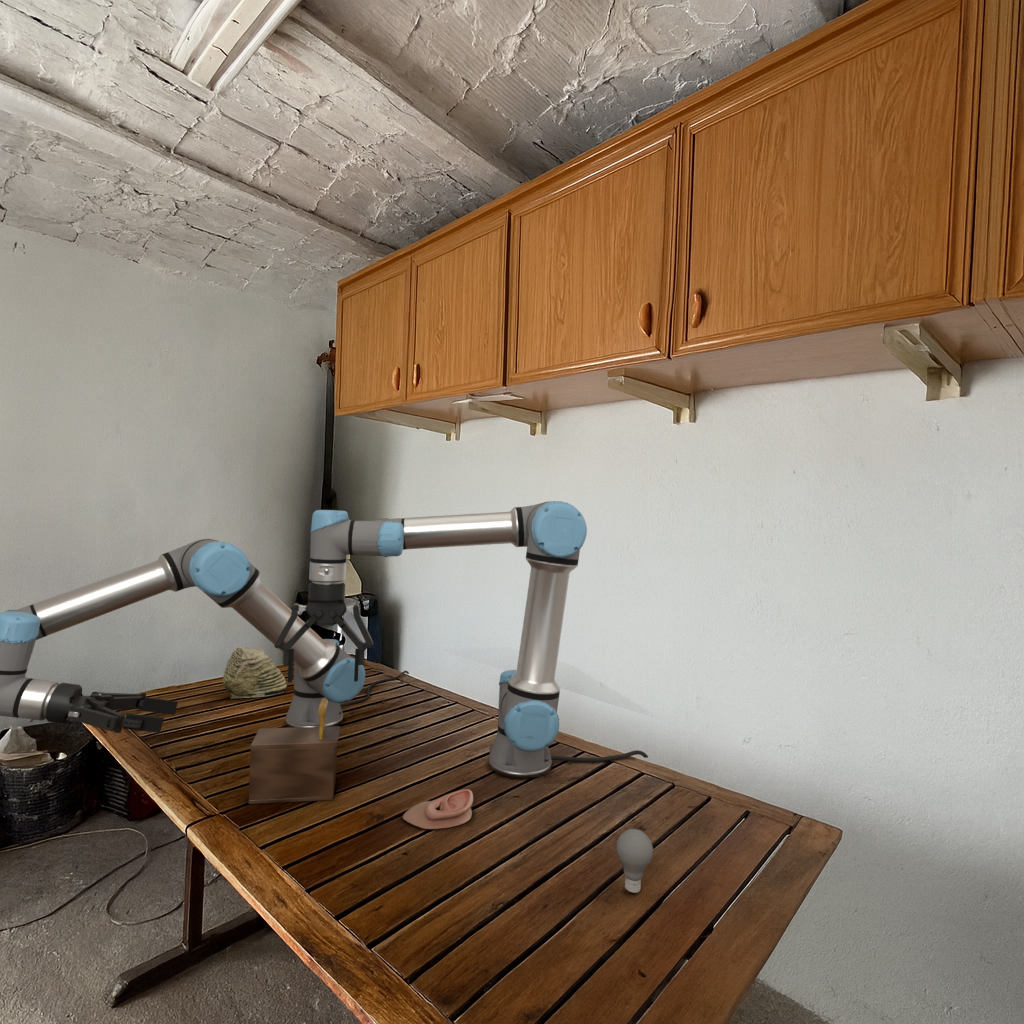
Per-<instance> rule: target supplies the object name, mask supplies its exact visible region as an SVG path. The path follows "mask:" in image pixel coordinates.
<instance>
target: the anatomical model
mask: <svg viewBox="0 0 1024 1024" xmlns="http://www.w3.org/2000/svg"><path fill="white" fill-rule="evenodd" d="M473 794H474V793H473V791H472V790H471V789H468V788H467V789H466V788H465V789H460V790H459V789H458V790H457V791H452V792H450V793H447V794H444V795H443V796H440V797H438V798H436V799H433V800H428V801H422V802H419V803H418V804H415V805H414V806H412V807H411V808H409V809H407V810H406V811H405V813H404V814H403V815H402V819H403V820H404V822H405V821H406V822H407V823H408V824H410V825H412V826H415V827H416V828H417V827H418V828H420V829H423V830H439V829H448V828H452V827H457V826H460V825H463V824H465V823H467V822H468V821H470V820H471V819H472V816H473V815H472V814H473V810H472V808H471V807H472V805H473V802H474V795H473Z"/></svg>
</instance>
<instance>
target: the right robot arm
mask: <svg viewBox="0 0 1024 1024" xmlns="http://www.w3.org/2000/svg"><path fill="white" fill-rule="evenodd" d="M587 533H588V528H587V522H586V519H585V518H584V516H583V514H582V512H581V511H580V510H578V508H576V507H575V506H574V505H573V504H571V503H568V502H566V501H563V500H561V501H560V500H553V501H552V500H551V501H544V502H540V503H536V504H531V505H527V506H514V507H512V509H511V510H510V511H501V512H500V511H499V512H482V513H465V514H450V515H448V514H447V515H433V516H415V517H412V516H411V517H402V518H401V517H399V518H378V519H376V520H356V519H355V520H353V519H350V517H349V513H348V512H347V511H346V510H338V509H337V510H336V509H316V510H315V511H313V513H312V517H311V527H310V550H309V551H310V554H309V555H310V557H309V570H308V571H309V573H308V579H309V581H311V582H309V584H308V597H307V598H308V600H307V604H300V603H298V602H295V603H294V604H293V605H292V608H291V610H292V613H291V616H290V618H289V620H288V622H287V623H286V625H285V627H284V629H283V631H282V632H281V634H280V636H279V638H278V639H277V641H276V643H275V645H274V644H273V645H274V648H275V649H279V650H280V649H282V650H283V652H282V653H283V655H282V665H283V667H288V668H287V683H288V684H289V683H290V684H291V683H292V682H293V681H294V668H295V662H294V649H290V648H291V647H292V646H293V645H294V644H295V643H296V642H297V641H298V640H299V638H300V637H301V636H302V635H303V634H304V633H305V632H306V631H307V630H308V629H309V628H311V627H312V626H313V625H316V626H318V627H323V626H328V627H333V626H335V625H337V626H338V627H339V628H340V629H341V630H342V631H343V633H344V634H345V635H346V636H347V637H348V638H349V639H350V641H351V642H352V643H353V645H354V646H355V647H356V648H355V651H354V658H355V671H354V682H358V668H359V665H363V666H364V663H365V652H366V650H367V649H372V648H373V647H374V640H373V638H372V636H371V634H370V632H369V629H368V628H367V625H366V623H365V621H364V619H363V618H362V615H361V610H360V605H359V603H354V604H350V605H347V604H346V584H345V580H346V578H347V577H346V576H347V556H367V557H368V556H369V557H384V558H390V557H400V556H401V555H402V554H403V551H404V550H420V549H421V550H422V549H436V548H454V547H457V548H458V547H472V546H490V545H504V544H505V545H507V544H512V545H513V546H514V547H515V548H526V553H525V560H526V561H527V563H528V564H529V566H530V574H529V579H528V580H529V581H528V588H527V593H526V594H527V595H526V600H525V601H526V602H525V608H524V615H523V623H522V629H521V630H522V631H521V637H520V644H519V645H520V646H519V651H518V658H517V664H516V665H517V666H516V669H508V670H504V671H502V672H501V673H500V676H499V682H498V685H499V691H498V711H497V712H498V713H497V731H496V736H495V738H494V742H493V744H492V745H490V746H489V756H488V767H489V769H491V770H492V772H494V773H496V774H498V775H500V776H503V777H505V778H506V777H507V778H511V779H522V780H523V779H524V780H525V779H536V778H540V777H542V776H545V775H546V774H548V773H549V772H550V771H551V770H552V762H553V761H559V762H578V763H597V762H599V763H600V762H608V761H615V760H620V759H626V758H629V757H632V756H636V755H638V756H639V755H640V756H642V757H643V758H645V759H648V758H649V756H648V754H647V753H646V752H644V751H642V750H638V749H637V750H631V751H628V752H625V753H621V754H614V755H607V756H599V757H579V756H577V757H576V756H559V755H551V752H550V748H549V746H550V745H552V744H553V743H554V741H555V740H556V739H557V737H558V734H559V731H560V717H559V714H558V709H559V708H558V707H559V701H560V693H561V687H560V685H559V684H558V683H557V681H556V679H555V678H556V672H557V665H558V659H559V652H560V643H561V637H562V631H563V622H564V617H565V616H564V615H565V608H566V602H567V594H568V587H569V581H570V575H571V573H572V572H573V571H574V570H575V569H576V568H578V566H579V560H580V553H581V549H582V547H583V546H584V544H585V541H586V538H587ZM303 612H306V614H307V615H308V617H309V618H308V619H307V620H306V622H305V624H304V625H303V626H302V627H301V628H300V629H299V630H298V631H297V633H296V634H295V635H294V636H293V637H292V638H291V639H290V640H289V641H288V642H287V643H285V642H283V641H284V639H285V638H286V636H287V634H288V632H289V631H290V629H291V627H292V625H293V623H294V622H295V620H296V618H297V616H298V617H299V616H301V615H302V614H303ZM347 612H348V613H349V615H350V616H353V618H354V621H355V623H356V625H357V627H358V629H359V631H360V633H361V636H362V638H363V640H364V642H363V641H362V639H361V638H360V637H359V635H358V634H357V633H356V632H355V631H354V630H353V629H352V627H351V626H350V625H349V623H347V621H346V619H345V618H344V617H343V616H344V615H345V614H346V613H347Z"/></svg>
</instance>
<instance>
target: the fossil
mask: <svg viewBox="0 0 1024 1024" xmlns="http://www.w3.org/2000/svg"><path fill="white" fill-rule="evenodd" d="M222 676H223V677H222V685H223V687H224V688H225V690H226V691H228V693H229V698H230V699H250V698H264V697H271V696H275V695H281V694H284V693H285V691H286V689H287V687H288V686H287V680H286V678H285V676H284V674H283V673H282V672H281V669H279V668H278V667H277V665H276V663H275V662H274V660H273V659H272V658H271V657H270V656H269V655H268V654H267V653H266V652H265V650H264V649H263V648H260V647H258V648H251V647H247V646H246V647H245V646H238V647H237V648H236V649H235V650H233V651H232V653H231V656H230V657H229V659H228V660H227V663H226V666H225V668H224V671H223V675H222Z"/></svg>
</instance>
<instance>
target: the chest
mask: <svg viewBox="0 0 1024 1024" xmlns="http://www.w3.org/2000/svg"><path fill="white" fill-rule="evenodd" d="M249 754H250V755H249V778H248V779H249V780H248V805H255V804H256V805H257V804H277V803H278V804H279V803H298V802H299V803H300V802H316V801H317V802H318V801H333V800H334V794H335V789H336V781H337V764H338V763H337V761H338V746H337V747H314V748H284V749H254V750H251V749H250V752H249Z"/></svg>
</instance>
